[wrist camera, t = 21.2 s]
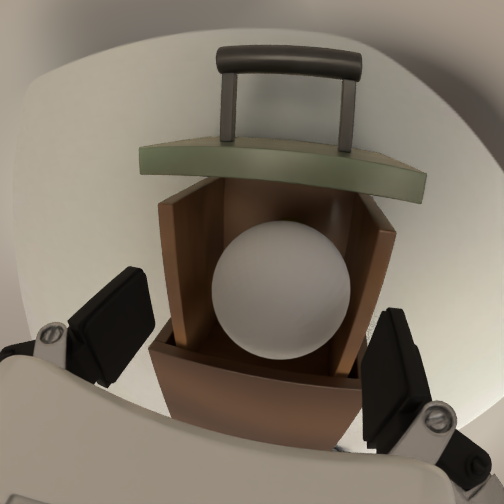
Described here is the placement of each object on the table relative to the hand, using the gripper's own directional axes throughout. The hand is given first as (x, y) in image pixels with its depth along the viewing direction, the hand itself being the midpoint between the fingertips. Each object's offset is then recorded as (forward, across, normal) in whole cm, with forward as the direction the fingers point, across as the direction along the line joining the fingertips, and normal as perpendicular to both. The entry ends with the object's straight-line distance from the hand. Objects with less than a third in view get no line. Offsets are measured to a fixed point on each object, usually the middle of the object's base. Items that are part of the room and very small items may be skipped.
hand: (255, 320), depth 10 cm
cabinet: (+11, 0, +12) cm, 16 cm away
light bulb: (+9, 0, 0) cm, 9 cm away
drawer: (+10, 0, -2) cm, 10 cm away
